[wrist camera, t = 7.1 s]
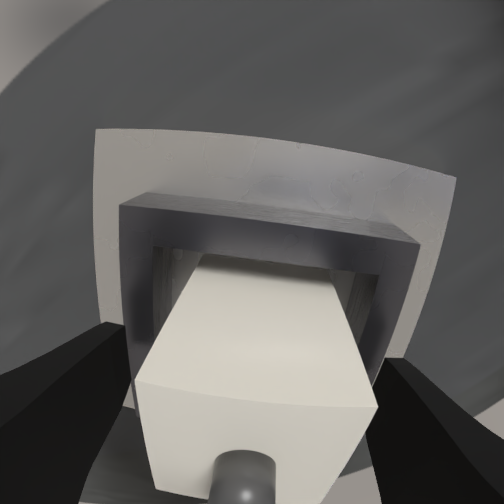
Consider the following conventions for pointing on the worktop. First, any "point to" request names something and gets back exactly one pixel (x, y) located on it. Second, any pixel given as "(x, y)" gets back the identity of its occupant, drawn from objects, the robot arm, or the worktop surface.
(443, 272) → the worktop surface
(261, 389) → the plug
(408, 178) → the socket plate
